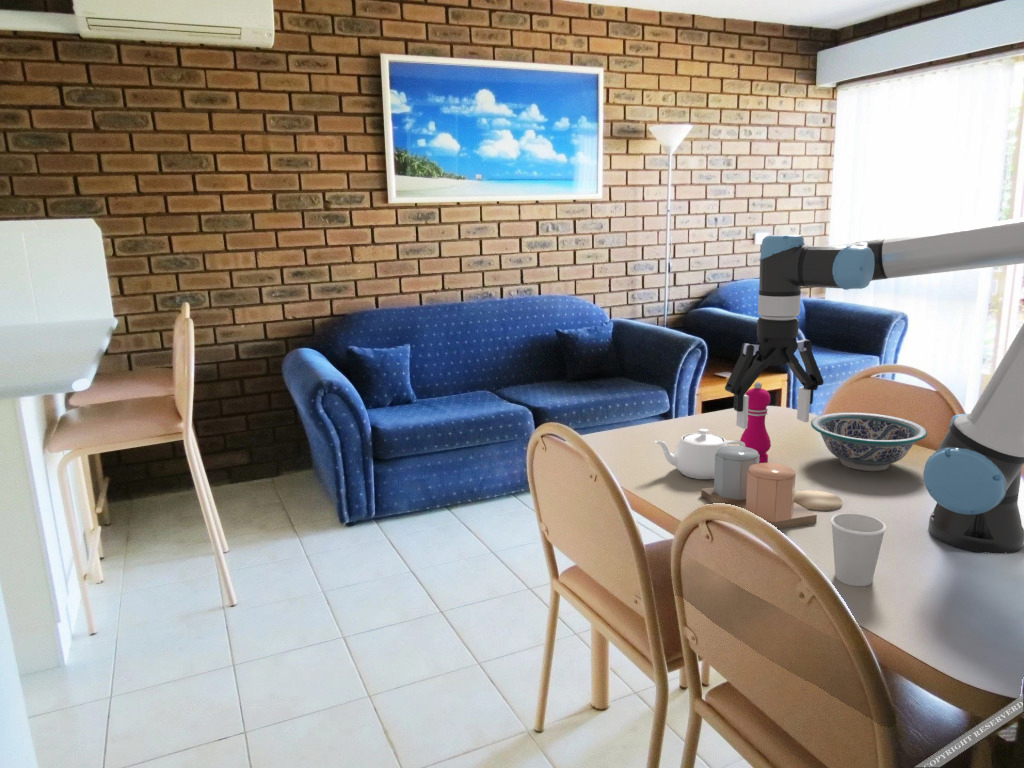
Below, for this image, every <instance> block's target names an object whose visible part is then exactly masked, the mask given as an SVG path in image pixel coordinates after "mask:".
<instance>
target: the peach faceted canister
mask: <svg viewBox="0 0 1024 768" xmlns="http://www.w3.org/2000/svg"><path fill="white" fill-rule="evenodd" d="M796 473H797V472H796V471H795V470H794V468H792V467H790V466H789V465H785V464H781V463H774V462H767V463H758V464H753V465H751V466H750V467H749V471H748V473H747V495H746V510H748V511H750V512H752V513H754V514H755V515H757V516H759V517H761V518H763V519H764V520H766V521H771V522H778V521H785V520H790V519H791V517H792V515H793V509H794V493H795V492H796V491H795V490H796Z"/></svg>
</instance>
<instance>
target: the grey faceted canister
mask: <svg viewBox="0 0 1024 768" xmlns="http://www.w3.org/2000/svg"><path fill="white" fill-rule="evenodd" d="M759 457H760V455H759V454H758V451H756V450H754V449H752V448H748V447H743V446H740V445H728V446H725V447H721V448H718V449H717V453H716V454H715V474H714V479H713V483H714V484H713V487H714V492H715V493H717V494H718V495H720V496H721V497H724V498H730V499H737V500H743V499H746V495H747V473H748V471H749V467H750V466H751V465H753V464H758V463H759Z"/></svg>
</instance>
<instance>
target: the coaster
mask: <svg viewBox="0 0 1024 768" xmlns="http://www.w3.org/2000/svg"><path fill="white" fill-rule="evenodd" d="M794 502H795V503H797V504H799V505H800V506H802V507H804V508H806V509H807V510H810V511H811V510H813V511H822V512H823V511H825V512H827V511H829V512H830V511H835V510H839V509H840V508H842V507H843V500H842V498H841V497H839V496H837V494H833V493H830V492H827V491H822V490H816V489H815V490H813V489H804V490H803V489H802V490H798V491H795V492H794Z"/></svg>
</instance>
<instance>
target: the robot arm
mask: <svg viewBox="0 0 1024 768" xmlns="http://www.w3.org/2000/svg"><path fill="white" fill-rule="evenodd" d="M760 247H761V249H760V256H759V257H760V258H758V260H759V284H758V285H759V286H758V287H759V289H758V302H757V303H758V305H757V307H758V309H757V314H758V316H760V317H758V318H757V322H756V323H757V324H756V325H757V326H756V336H757V341H756V344H751V343H746V342H744V343H742V345H741V350H740V354H739V356H738V359H737V361H736V363H735V365H734V367H733V369H732V371H731V374H730V376H729V377H728V380H727V382H726V384H725V386H724V390H725V391H726V392H729V393H731V394H733V410H734V411H736V421H735V422H736V424H735V425H736V426H737V427H739V428H741V429H743V430H745V429H747V423H748V400H749V396H747V395H745V394H746V392H747V391H748V390H750V389H751V387H752V386H753V384H755V383H756V380H758V378H759V377H760V376H761V374H762V373H763V371H764V370H766V369H767V368H768V367H769V366H771V367H776V366H778V365H781V366H786V365H787V366H788V369H790V371H791V373H793V375H794V376H795V377H796V379H797V380H798V381H799V383H800V384H801V385H802V386H800V387H798V395H797V412H796V413H797V414H796V419H797V420H798V421H802V422H803V423H809V420H810V409H811V408H810V405H812V404H813V402H814V392H815V391H817V390H818V389H819V386H823V384H824V382H825V381H824V379H823V376H822V374H821V371H820V369H819V366H818V364H817V361H816V358H815V356H814V353H813V347H812V346H813V344H812V341H811V340H809V339H805V338H799V339H798V340H797V338H798V336H799V329H800V327H799V326H800V320H799V318H797V317H799V315H800V314H801V295H802V294H801V292H802V290H801V289H802V287H805V288H810V287H811V288H825V289H826V288H828V289H842V290H846V291H847V290H848V291H849V290H857V289H858V290H861V289H865V288H867V287H868V286H869V285H870V283H871V282H873V281H881V280H886V279H887V280H888V279H896V278H904V277H905V278H906V277H912V276H923V275H931V274H940V273H941V274H942V273H949V272H959V271H966V270H967V271H968V270H975V269H976V270H977V269H984V268H985V269H986V268H993V267H994V268H995V267H1002V266H1010V265H1011V266H1012V265H1013V266H1014V265H1021V264H1024V217H1020V218H1013V219H1006V220H1000V221H993V222H987V223H980V224H973V225H972V224H971V225H968V226H967V225H966V226H960V227H953V228H948V229H940V230H932V231H927V232H919V233H914V234H912V233H911V234H907V235H900V236H893V237H888V238H887V237H886V238H883V239H882V238H881V239H874V240H873V239H872V240H864V241H858V242H854V243H853V242H852V243H848V244H847V243H846V244H840V245H808V244H807V245H806V244H805V239H804V236H803V235H801V234H769V235H767V236H764V238H763V239H762V241H761V246H760ZM797 351H798V352H799V355H800V358H801V361H802V363H803V366H804V367H803V366H802V364H801V363H800V361H799V359H798V358H797V357H796V355H795V353H796V352H797ZM756 353H757V355H756ZM755 355H756V356H755ZM754 356H755V358H754ZM752 360H753V361H752ZM751 363H752V364H751ZM750 365H751V366H750ZM749 366H750V367H749ZM804 368H805V369H804ZM1023 466H1024V322H1023V323H1022V326H1020V329H1019V330H1018V332H1017V334H1016V335H1015V337H1014V339H1013V341H1012V342H1011V344H1010V346H1009V347H1008V348H1007V350H1006V352H1005V354H1004V356H1003V357H1002V359H1001V361H1000V362H999V364H998V366H997V368H996V370H995V371H994V372H993V375H992V376H991V378H990V380H989V381H988V383H987V385H986V386H985V388H984V390H983V391H982V394H980V397H979V398H978V400H977V402H976V404H975V405H974V406H973V408H972V410H971V412H970V413H958V414H955V415H953V416H952V418H951V419H950V423H949V425H948V430H947V432H946V434H945V435H944V438H943V439H942V441H941V443H940V444H939V446H938V447H937V449H936V450H935V452H934V453H932V455H930V456H929V457H928V459H927V460H926V462H925V465H924V468H923V469H924V470H923V475H922V476H923V477H922V479H923V483H924V487H925V489H926V491H927V493H928V494H929V496H930V497H931V498H932V499H933V500H934V501H935V503H936V504H935V507H934V509H933V511H932V512H931V514H930V516H929V519H928V531H929V533H930V535H932V536H933V537H934V538H936V539H937V540H939V541H941V542H943V543H945V544H947V545H950V546H953V547H956V548H959V549H962V550H965V551H972V552H977V553H984V554H993V555H998V554H999V555H1000V554H1002V555H1004V554H1012V553H1015V552H1018V551H1020V550H1022V549H1023V548H1024V527H1023V524H1022V518H1021V514H1020V510H1019V504H1018V502H1019V493H1020V486H1021V479H1022V471H1023Z"/></svg>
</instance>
